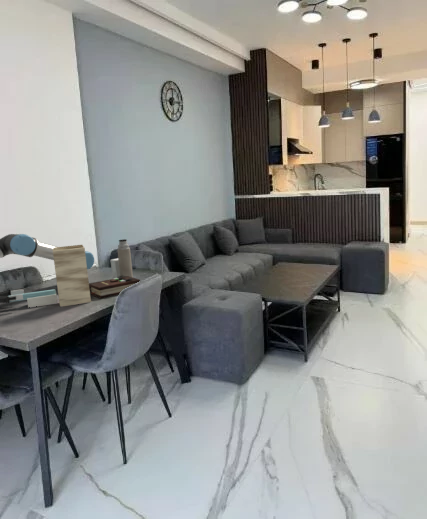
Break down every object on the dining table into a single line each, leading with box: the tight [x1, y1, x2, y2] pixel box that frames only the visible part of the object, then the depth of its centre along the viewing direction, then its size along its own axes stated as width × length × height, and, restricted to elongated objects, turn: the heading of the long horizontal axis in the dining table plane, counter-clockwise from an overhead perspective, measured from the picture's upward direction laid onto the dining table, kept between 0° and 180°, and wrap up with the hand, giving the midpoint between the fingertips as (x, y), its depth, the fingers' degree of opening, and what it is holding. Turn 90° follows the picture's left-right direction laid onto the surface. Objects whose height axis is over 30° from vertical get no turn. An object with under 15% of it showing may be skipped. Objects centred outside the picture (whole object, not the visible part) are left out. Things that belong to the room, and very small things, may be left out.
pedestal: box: [52, 244, 92, 307], centre depth 239 cm, size 10×16×31 cm, turn 111°
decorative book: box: [89, 275, 141, 299], centre depth 260 cm, size 19×8×30 cm
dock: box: [26, 293, 58, 309], centre depth 243 cm, size 8×15×5 cm, turn 111°
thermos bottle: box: [117, 238, 134, 278], centre depth 283 cm, size 8×8×28 cm
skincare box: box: [110, 257, 120, 279], centre depth 291 cm, size 8×6×15 cm
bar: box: [7, 288, 57, 303], centre depth 241 cm, size 3×24×3 cm, turn 111°
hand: (23, 294), depth 239 cm, fingers open, 13 cm apart
